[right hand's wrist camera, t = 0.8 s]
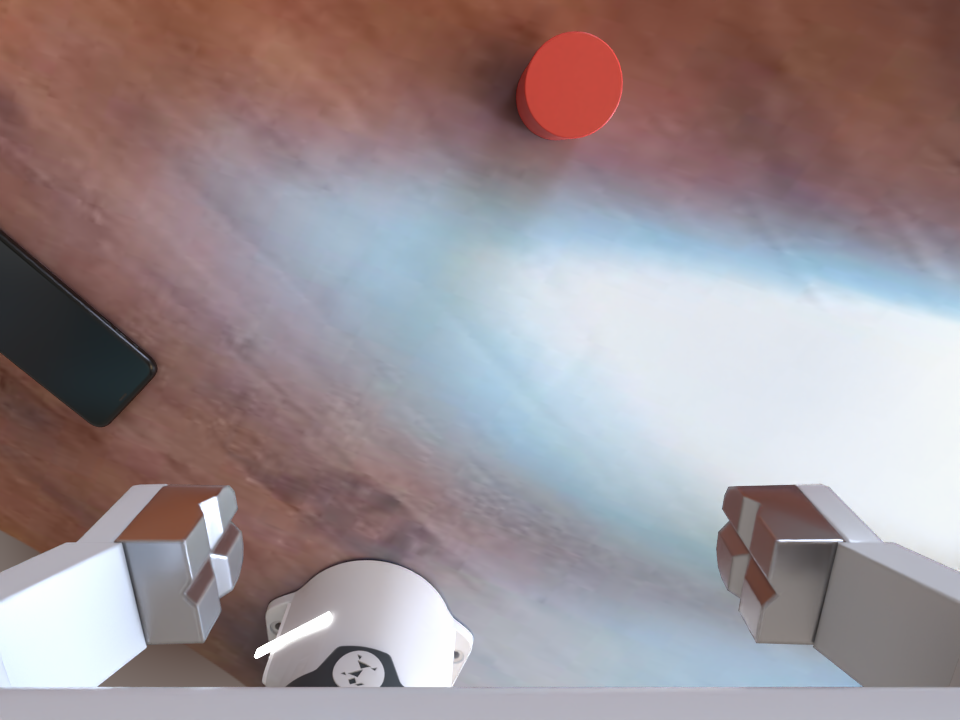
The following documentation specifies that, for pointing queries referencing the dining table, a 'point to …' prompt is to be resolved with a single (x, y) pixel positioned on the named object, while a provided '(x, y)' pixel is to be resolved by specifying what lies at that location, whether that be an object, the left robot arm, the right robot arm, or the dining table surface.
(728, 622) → the dining table surface
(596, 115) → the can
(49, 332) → the smartphone
